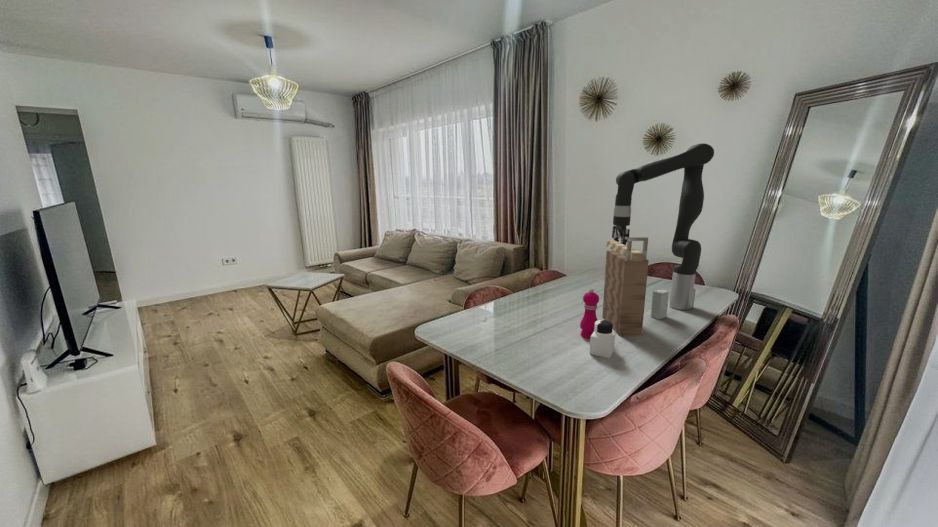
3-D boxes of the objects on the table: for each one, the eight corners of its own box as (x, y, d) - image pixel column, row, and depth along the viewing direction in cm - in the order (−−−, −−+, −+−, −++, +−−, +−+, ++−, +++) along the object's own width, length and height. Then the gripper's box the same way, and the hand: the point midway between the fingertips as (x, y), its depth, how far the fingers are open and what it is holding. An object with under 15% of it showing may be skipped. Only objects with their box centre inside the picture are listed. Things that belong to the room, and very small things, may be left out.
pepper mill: (589, 341, 140) (591, 292, 135) (575, 334, 146) (577, 287, 142) (602, 337, 143) (605, 289, 139) (588, 331, 149) (591, 285, 145)
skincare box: (659, 319, 159) (662, 293, 157) (649, 316, 163) (652, 291, 160) (667, 316, 163) (669, 291, 160) (657, 313, 166) (659, 288, 164)
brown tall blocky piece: (602, 317, 164) (607, 230, 155) (622, 316, 164) (629, 230, 155) (619, 335, 144) (626, 238, 135) (641, 335, 144) (650, 237, 135)
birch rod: (606, 246, 165) (606, 240, 164) (613, 246, 165) (614, 240, 164) (634, 261, 136) (634, 253, 135) (642, 261, 136) (643, 253, 135)
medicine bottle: (614, 351, 132) (616, 320, 129) (610, 359, 126) (612, 327, 123) (594, 346, 136) (596, 316, 133) (589, 354, 130) (591, 323, 127)
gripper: (636, 216, 163) (633, 251, 167) (623, 213, 177) (621, 246, 181) (620, 216, 163) (617, 251, 167) (608, 214, 177) (606, 246, 181)
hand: (619, 248), depth 174 cm, fingers open, 8 cm apart
